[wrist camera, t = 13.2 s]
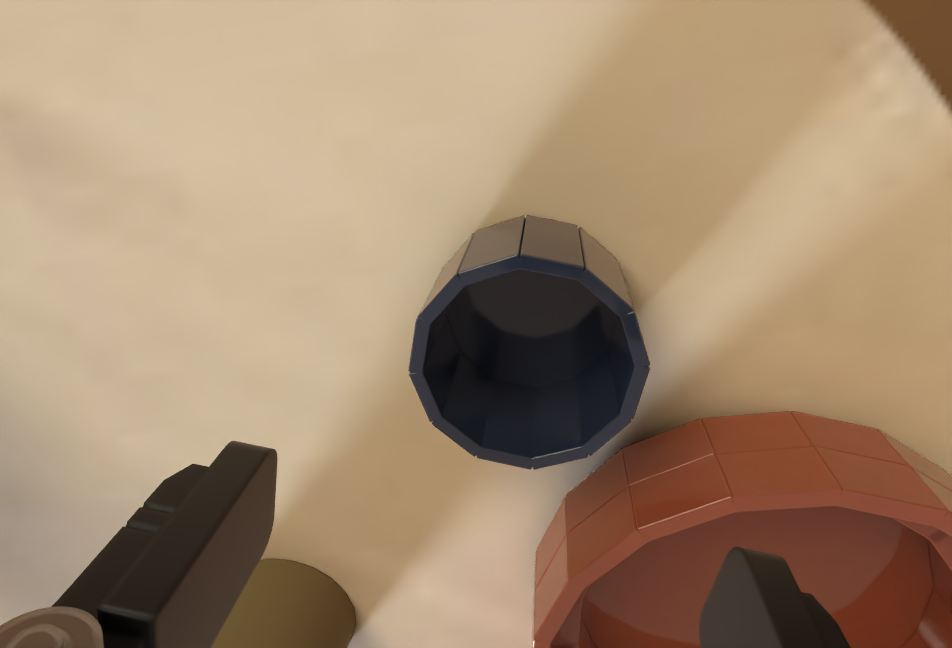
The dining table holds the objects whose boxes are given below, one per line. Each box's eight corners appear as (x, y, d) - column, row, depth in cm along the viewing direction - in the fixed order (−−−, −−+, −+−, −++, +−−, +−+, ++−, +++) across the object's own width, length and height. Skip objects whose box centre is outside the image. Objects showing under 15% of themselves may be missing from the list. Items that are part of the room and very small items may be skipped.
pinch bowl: (427, 367, 22) (397, 441, 18) (454, 196, 19) (428, 235, 15) (599, 404, 22) (611, 487, 18) (650, 235, 19) (678, 286, 15)
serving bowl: (452, 579, 26) (433, 681, 22) (775, 311, 20) (835, 380, 16) (720, 772, 29) (749, 895, 24) (1074, 589, 23) (1194, 711, 18)
